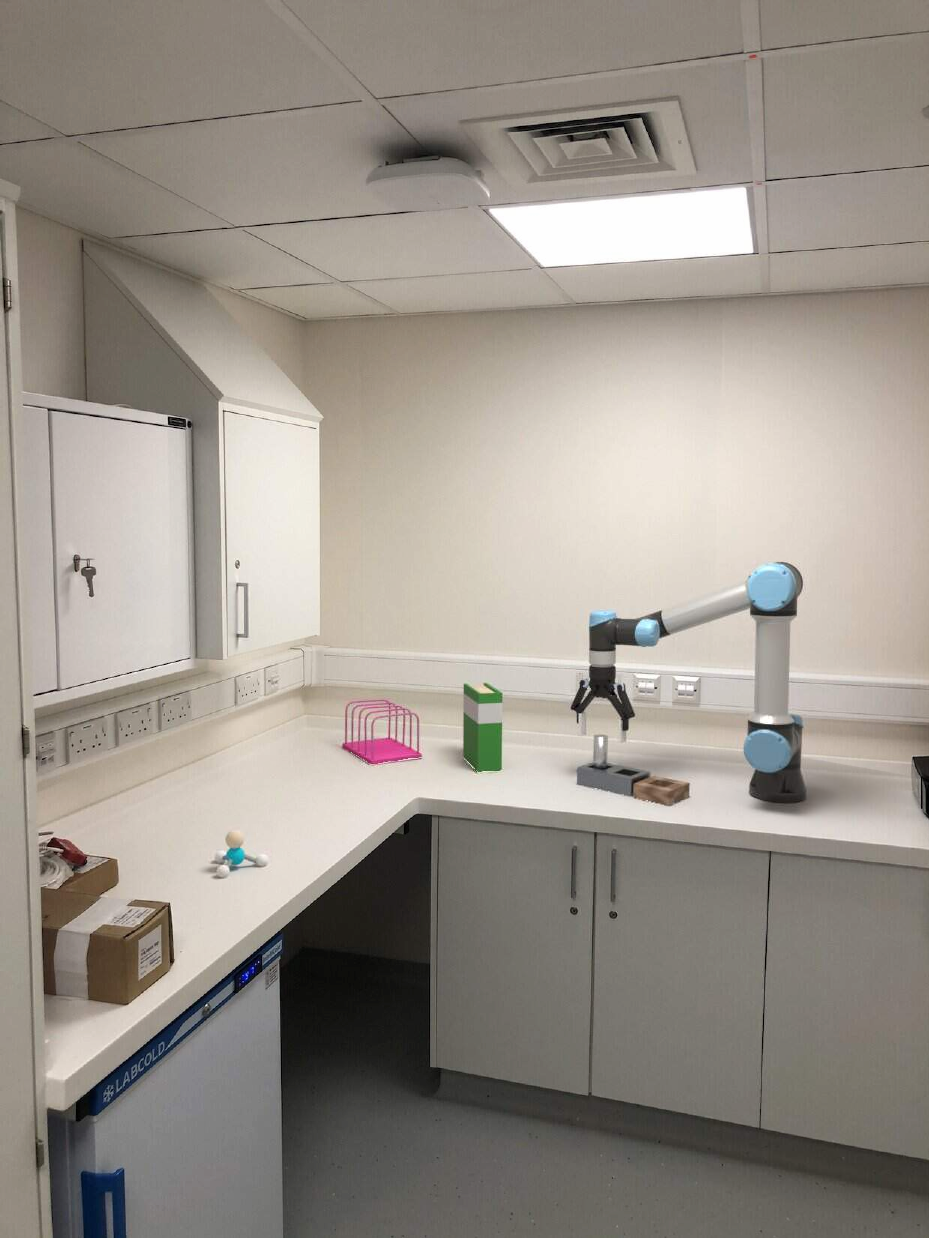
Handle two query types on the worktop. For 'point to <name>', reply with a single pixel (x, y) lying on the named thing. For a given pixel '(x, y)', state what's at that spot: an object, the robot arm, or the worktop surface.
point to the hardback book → (482, 727)
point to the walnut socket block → (661, 790)
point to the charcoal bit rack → (611, 778)
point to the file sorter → (382, 747)
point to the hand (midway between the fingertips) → (602, 738)
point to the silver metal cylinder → (600, 752)
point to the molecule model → (235, 854)
